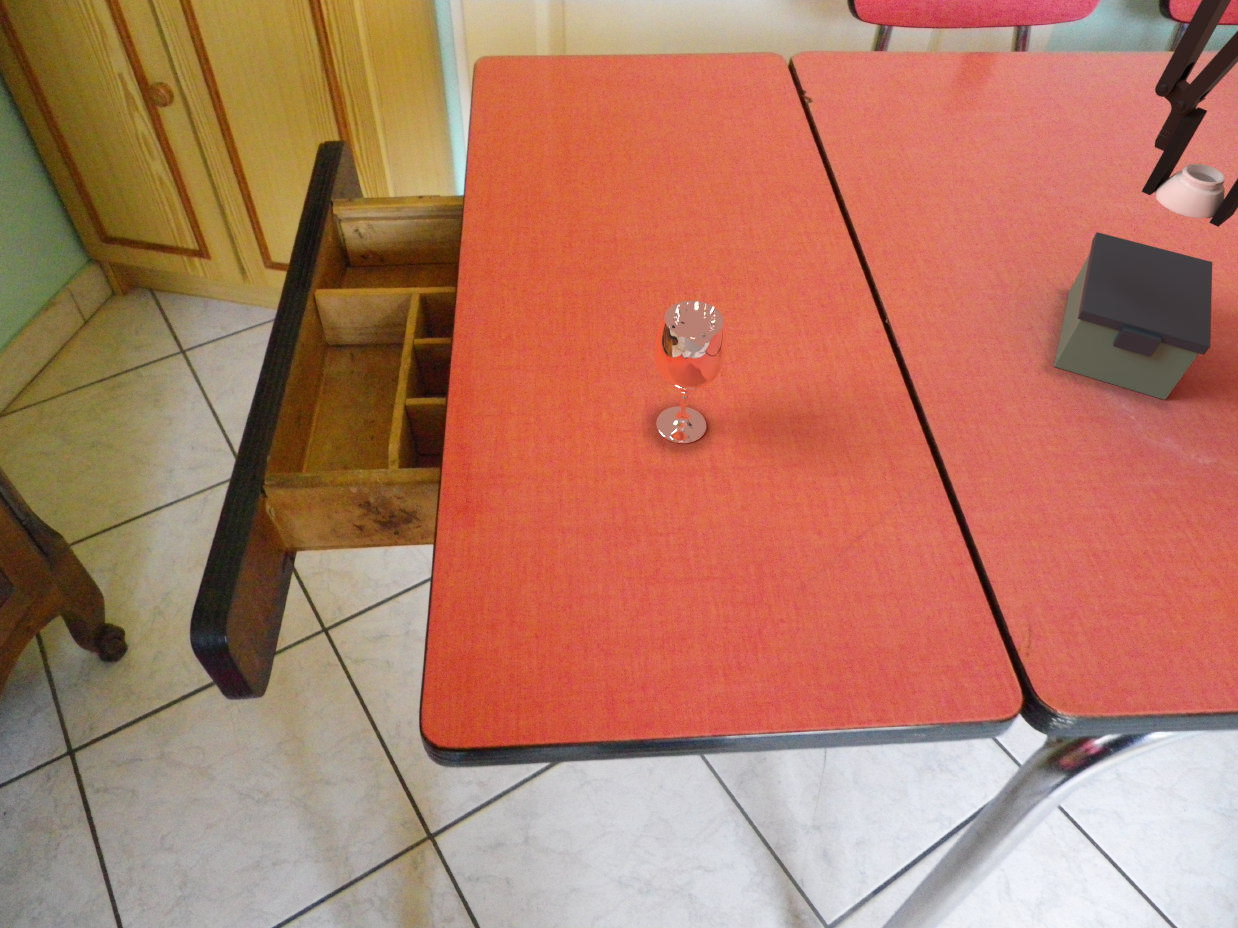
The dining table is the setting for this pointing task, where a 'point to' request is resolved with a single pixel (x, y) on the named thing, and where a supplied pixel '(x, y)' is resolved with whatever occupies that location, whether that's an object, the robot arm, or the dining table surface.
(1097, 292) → the box
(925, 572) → the dining table surface
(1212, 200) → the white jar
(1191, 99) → the robot arm
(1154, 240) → the dining table surface
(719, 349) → the wineglass
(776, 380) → the dining table surface
